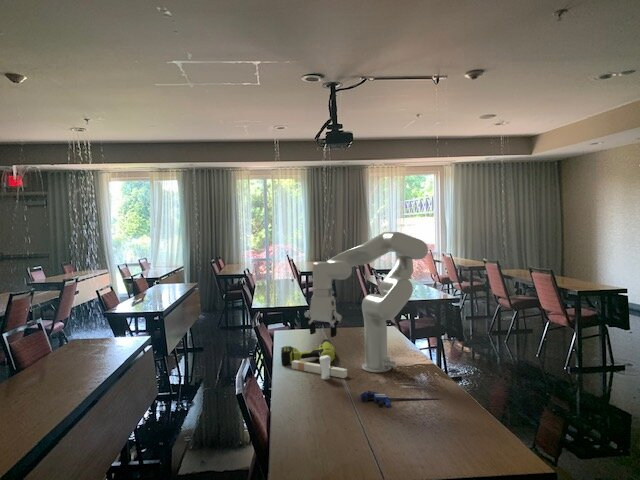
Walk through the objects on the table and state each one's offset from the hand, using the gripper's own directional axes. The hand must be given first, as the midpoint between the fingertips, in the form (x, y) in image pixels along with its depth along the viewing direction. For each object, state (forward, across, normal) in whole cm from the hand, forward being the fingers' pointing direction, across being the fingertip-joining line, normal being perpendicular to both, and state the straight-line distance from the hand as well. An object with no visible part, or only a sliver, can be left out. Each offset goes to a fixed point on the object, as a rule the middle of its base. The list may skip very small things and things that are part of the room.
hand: (323, 335), depth 177 cm
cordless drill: (+18, +22, -21) cm, 35 cm away
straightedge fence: (+18, +6, -5) cm, 19 cm away
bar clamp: (+18, -38, +6) cm, 42 cm away
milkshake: (+18, 0, 0) cm, 18 cm away
